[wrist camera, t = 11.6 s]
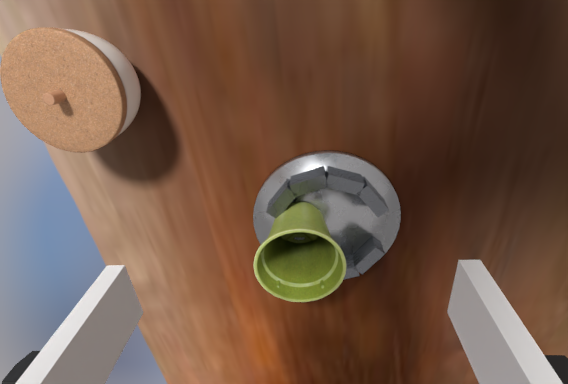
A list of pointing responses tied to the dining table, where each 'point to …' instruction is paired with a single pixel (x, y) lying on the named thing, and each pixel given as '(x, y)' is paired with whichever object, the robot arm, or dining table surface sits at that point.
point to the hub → (335, 203)
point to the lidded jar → (69, 87)
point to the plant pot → (300, 256)
